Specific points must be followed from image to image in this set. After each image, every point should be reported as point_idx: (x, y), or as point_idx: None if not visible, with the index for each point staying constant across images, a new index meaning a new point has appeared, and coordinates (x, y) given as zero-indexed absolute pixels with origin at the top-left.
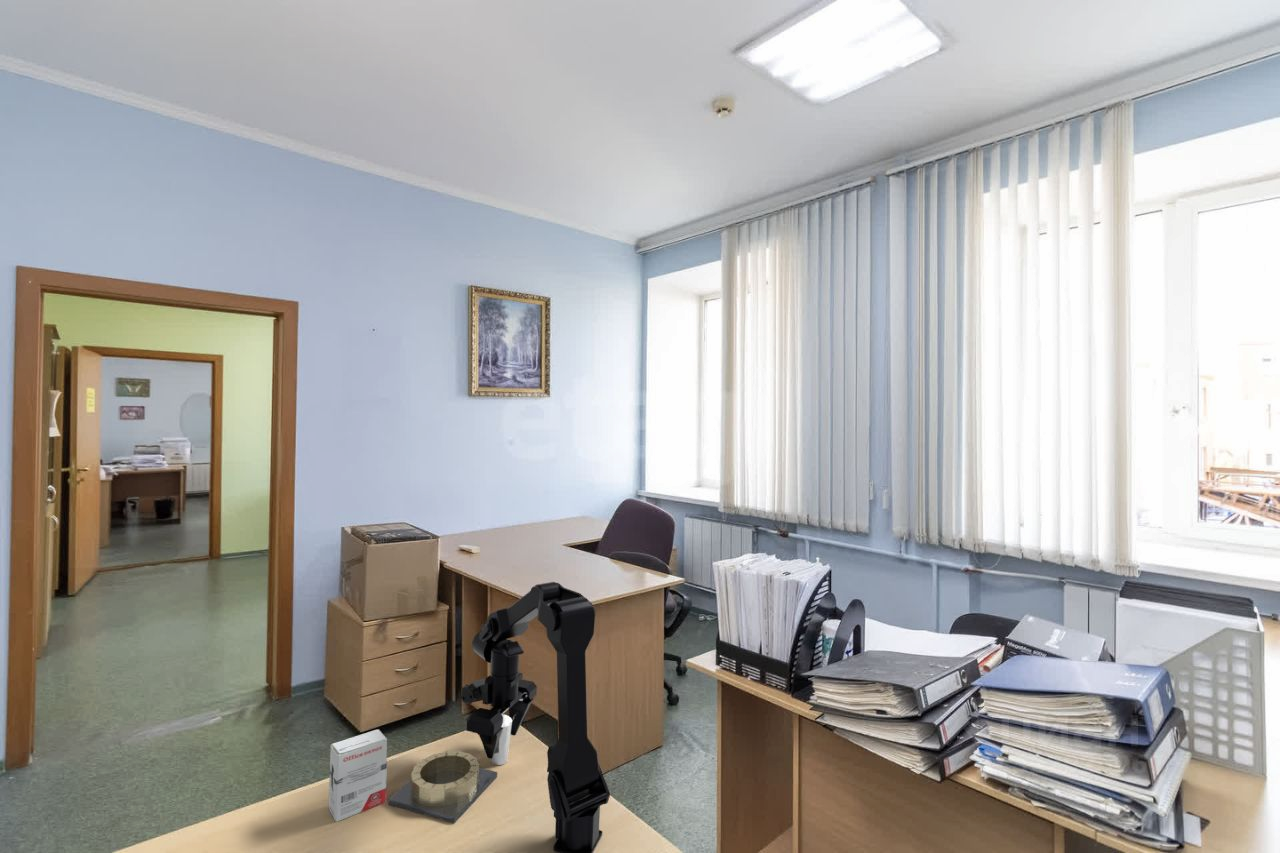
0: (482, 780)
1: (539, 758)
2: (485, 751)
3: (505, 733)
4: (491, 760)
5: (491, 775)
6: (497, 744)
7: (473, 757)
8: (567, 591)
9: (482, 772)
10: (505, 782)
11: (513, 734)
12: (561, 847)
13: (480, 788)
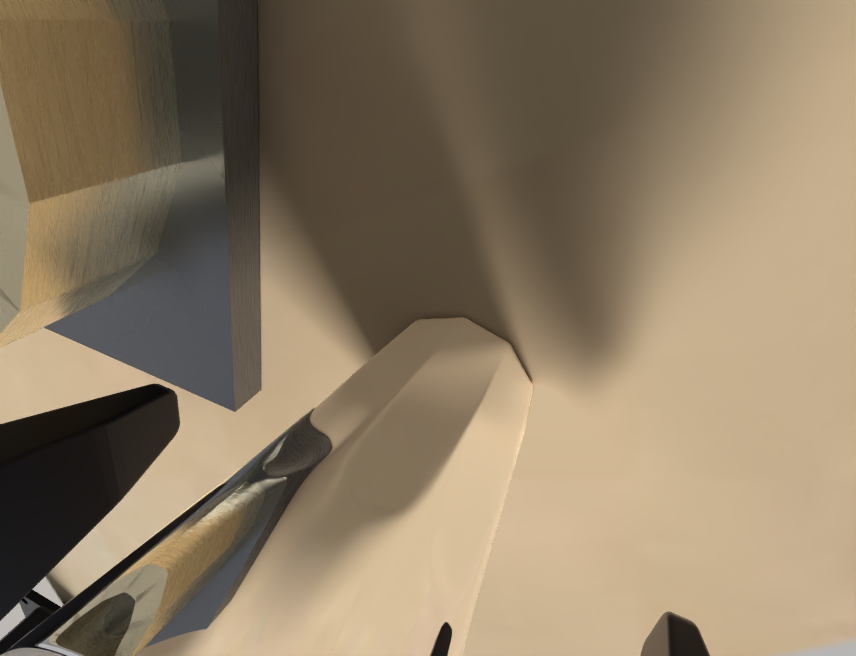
0: (120, 324)
1: (540, 648)
2: (64, 412)
3: None
4: (409, 326)
5: (189, 376)
6: (25, 589)
7: (11, 276)
8: None
9: (187, 304)
10: (237, 442)
11: (649, 643)
12: (28, 611)
13: (61, 327)
